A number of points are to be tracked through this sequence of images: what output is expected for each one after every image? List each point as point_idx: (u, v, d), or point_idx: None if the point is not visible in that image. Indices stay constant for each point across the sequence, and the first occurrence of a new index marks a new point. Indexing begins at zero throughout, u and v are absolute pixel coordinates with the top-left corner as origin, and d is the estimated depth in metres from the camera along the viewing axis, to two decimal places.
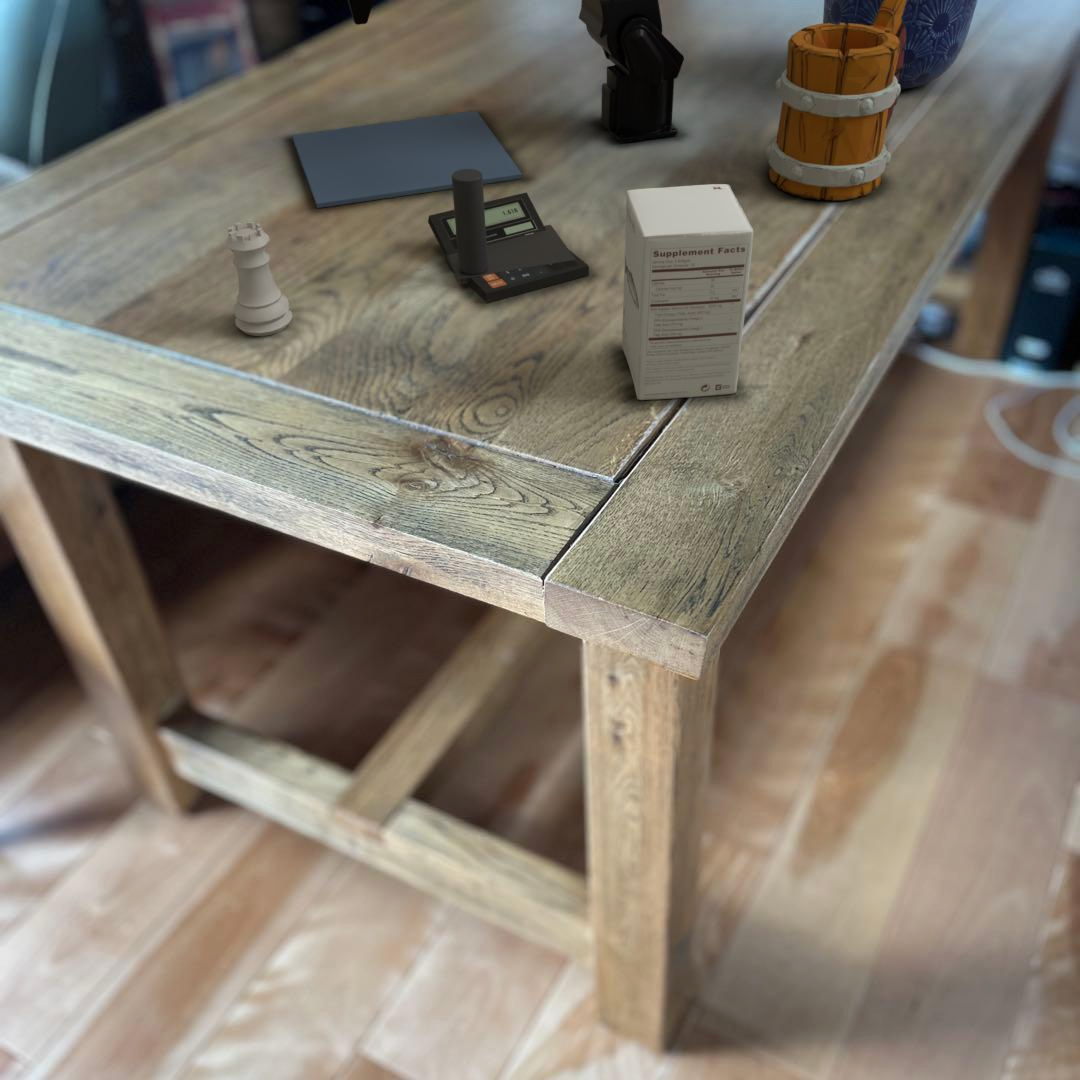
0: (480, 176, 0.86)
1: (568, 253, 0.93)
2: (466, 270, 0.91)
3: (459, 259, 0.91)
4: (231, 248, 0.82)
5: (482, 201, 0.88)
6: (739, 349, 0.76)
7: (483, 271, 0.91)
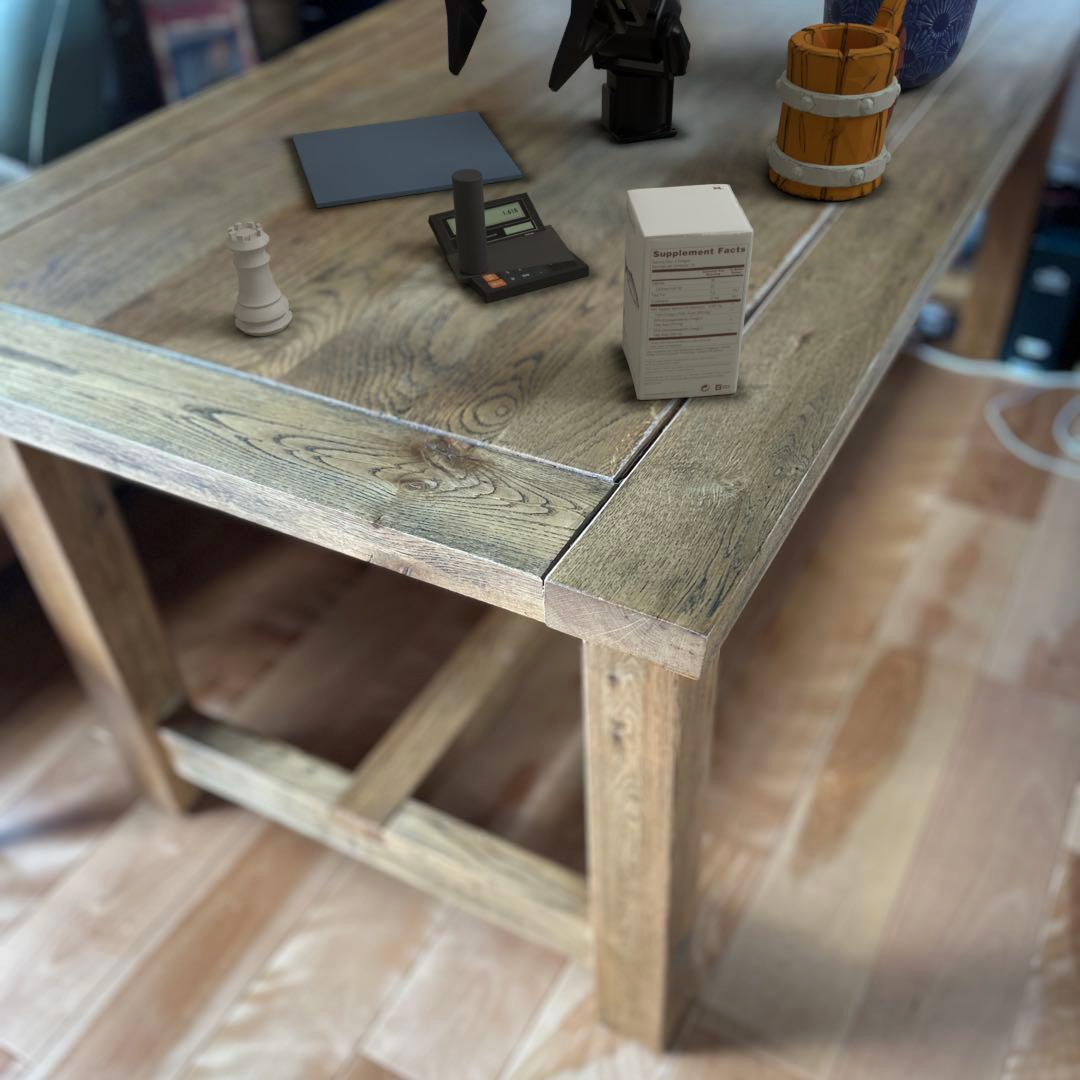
0: (480, 176, 0.86)
1: (568, 253, 0.93)
2: (466, 270, 0.91)
3: (459, 259, 0.91)
4: (231, 248, 0.82)
5: (482, 201, 0.88)
6: (739, 349, 0.76)
7: (483, 271, 0.91)
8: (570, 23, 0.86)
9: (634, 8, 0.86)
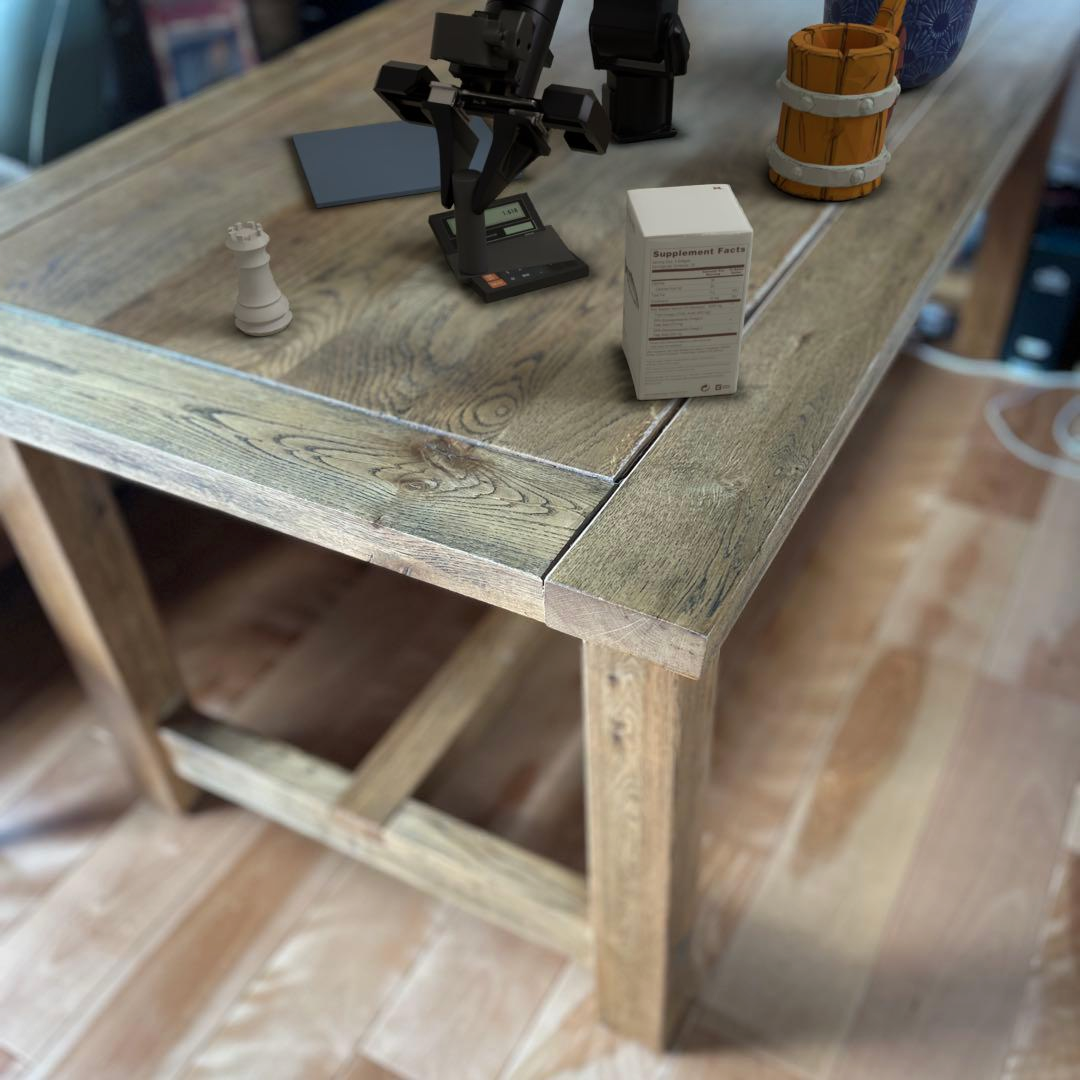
0: None
1: (568, 253, 0.93)
2: (466, 270, 0.91)
3: (459, 259, 0.91)
4: (231, 248, 0.82)
5: None
6: (739, 349, 0.76)
7: (483, 271, 0.91)
8: (493, 148, 0.85)
9: (595, 140, 0.84)
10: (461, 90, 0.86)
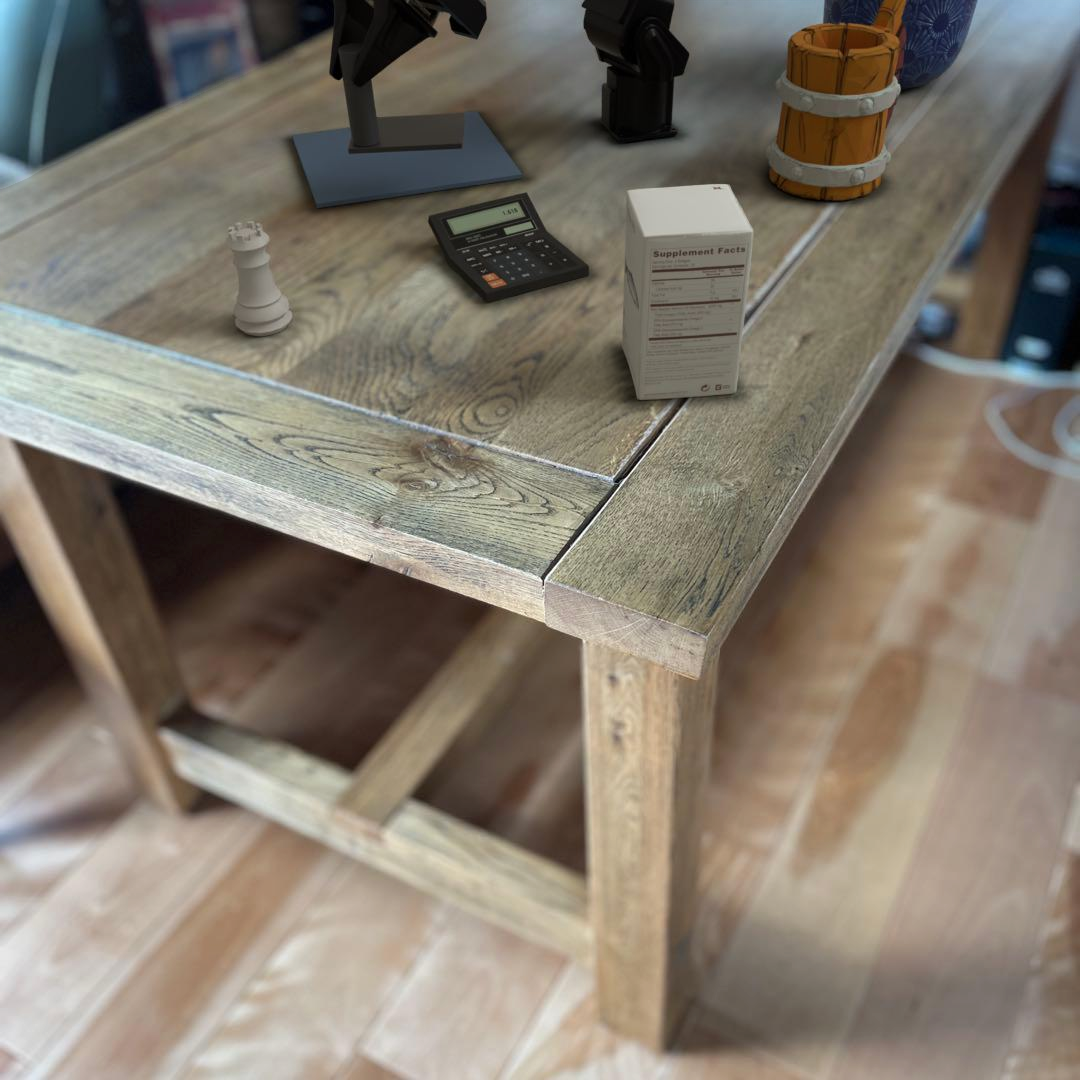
0: None
1: (458, 137, 0.98)
2: (355, 142, 0.97)
3: None
4: (231, 248, 0.82)
5: None
6: (739, 349, 0.76)
7: (371, 145, 0.97)
8: (373, 23, 0.91)
9: (461, 21, 0.88)
10: None
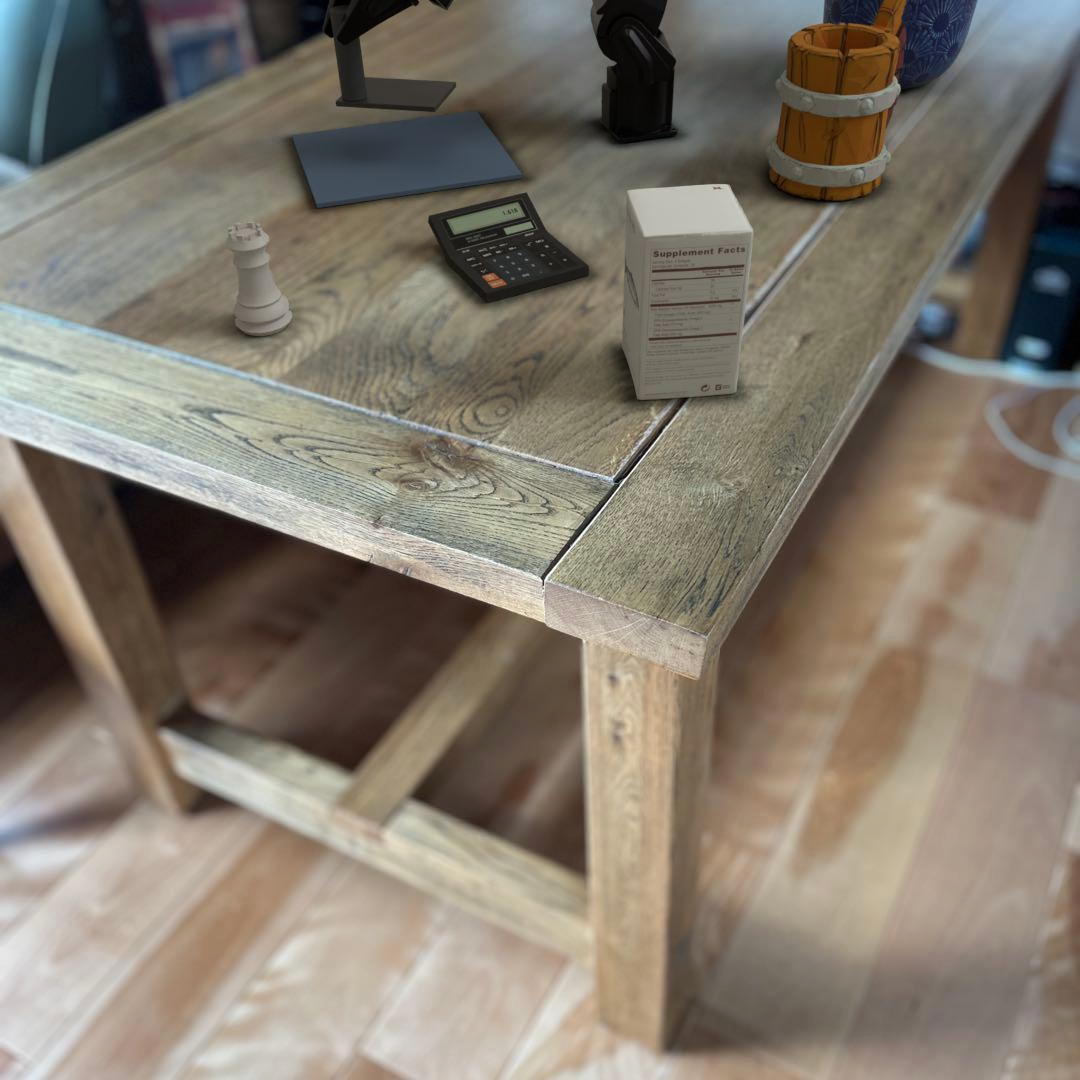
0: None
1: (435, 102, 1.05)
2: (343, 96, 1.06)
3: None
4: (231, 248, 0.82)
5: None
6: (739, 349, 0.76)
7: (356, 100, 1.06)
8: None
9: None
10: None
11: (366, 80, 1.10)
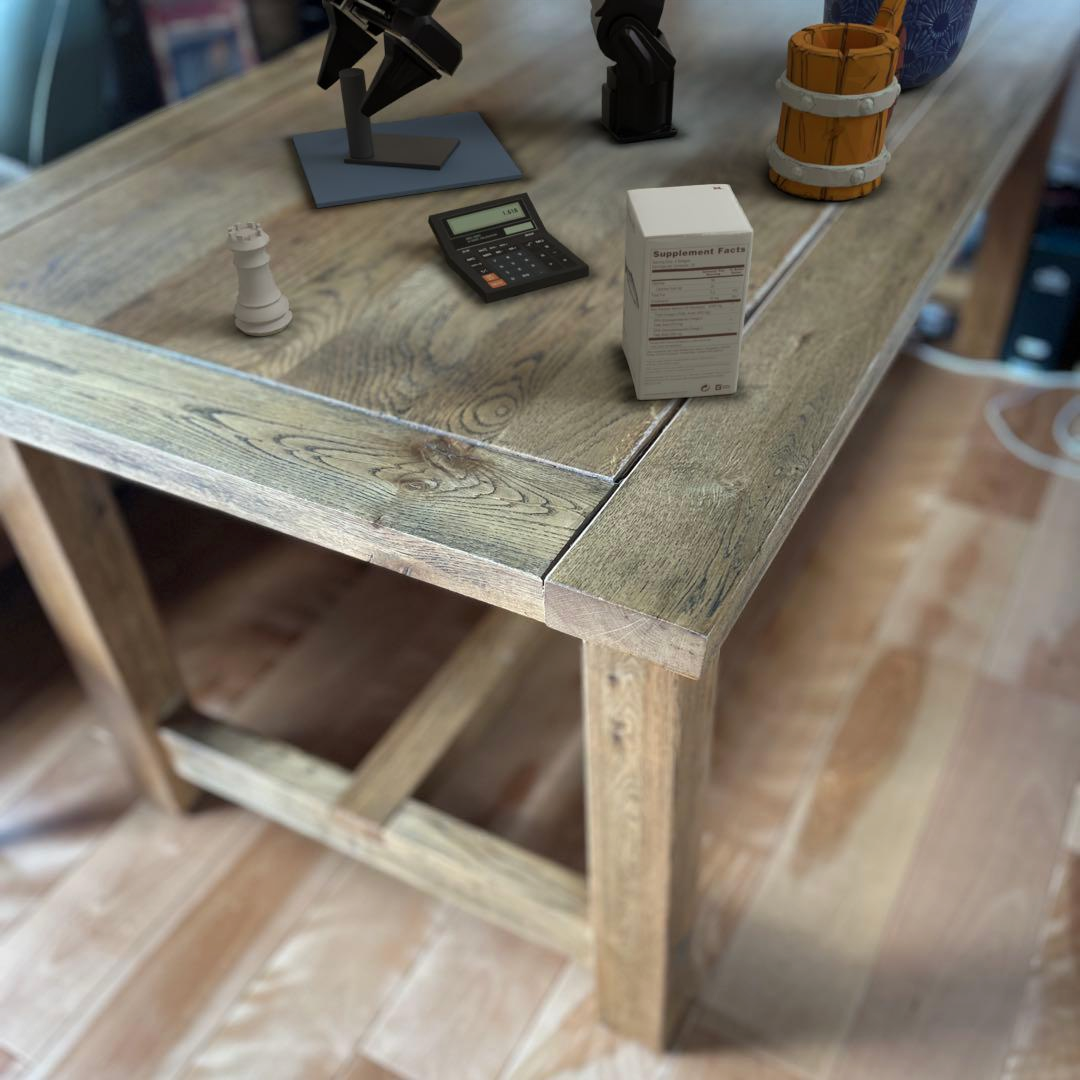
0: (358, 74, 1.05)
1: (440, 160, 1.09)
2: (351, 153, 1.10)
3: (349, 143, 1.10)
4: (231, 248, 0.82)
5: (360, 96, 1.06)
6: (739, 349, 0.76)
7: (364, 157, 1.09)
8: (382, 62, 1.01)
9: (433, 59, 0.99)
10: (367, 3, 1.05)
11: (373, 136, 1.14)
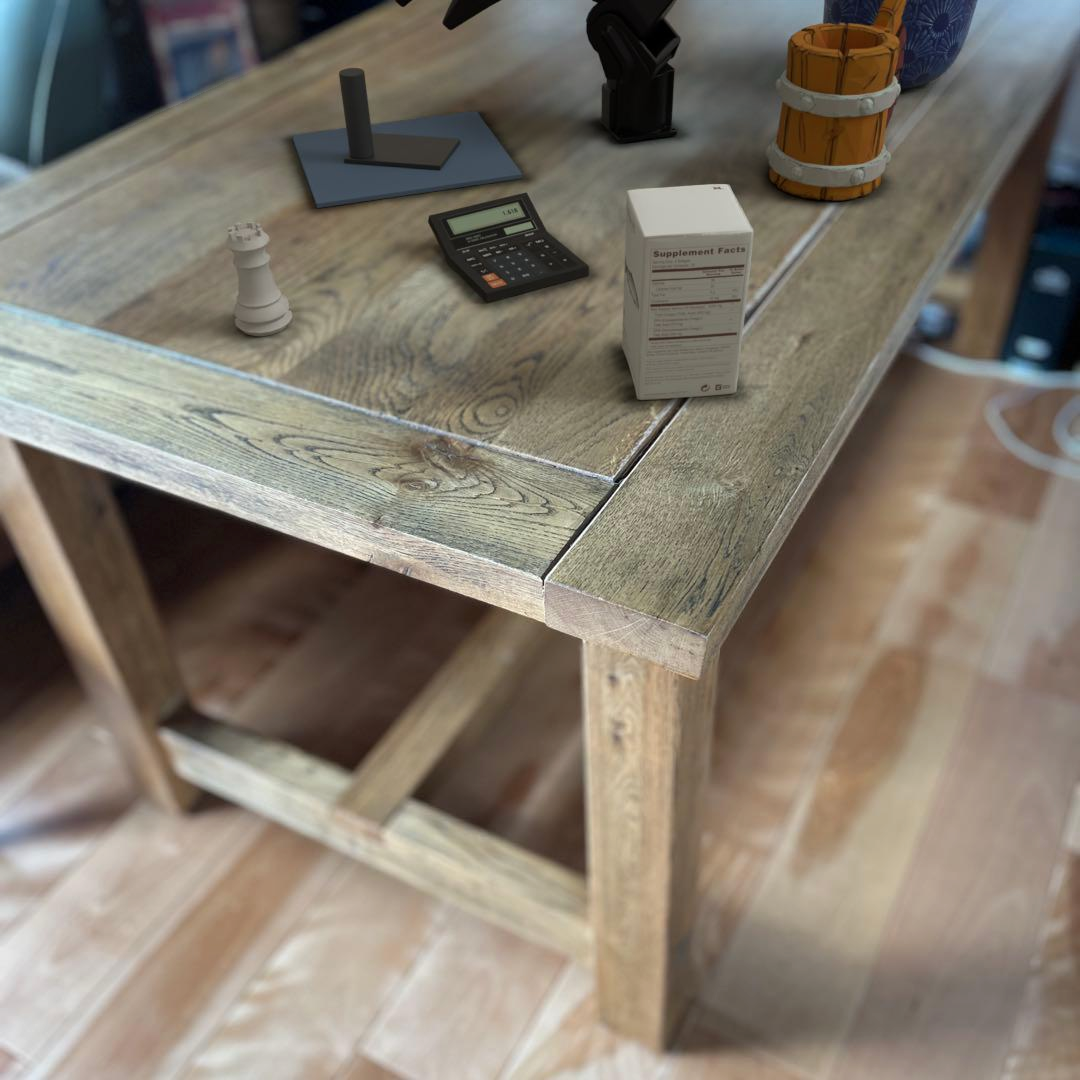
0: (358, 74, 1.05)
1: (440, 160, 1.09)
2: (351, 153, 1.10)
3: (349, 143, 1.10)
4: (231, 248, 0.82)
5: (360, 96, 1.06)
6: (739, 349, 0.76)
7: (364, 157, 1.09)
8: None
9: None
10: None
11: (373, 136, 1.14)
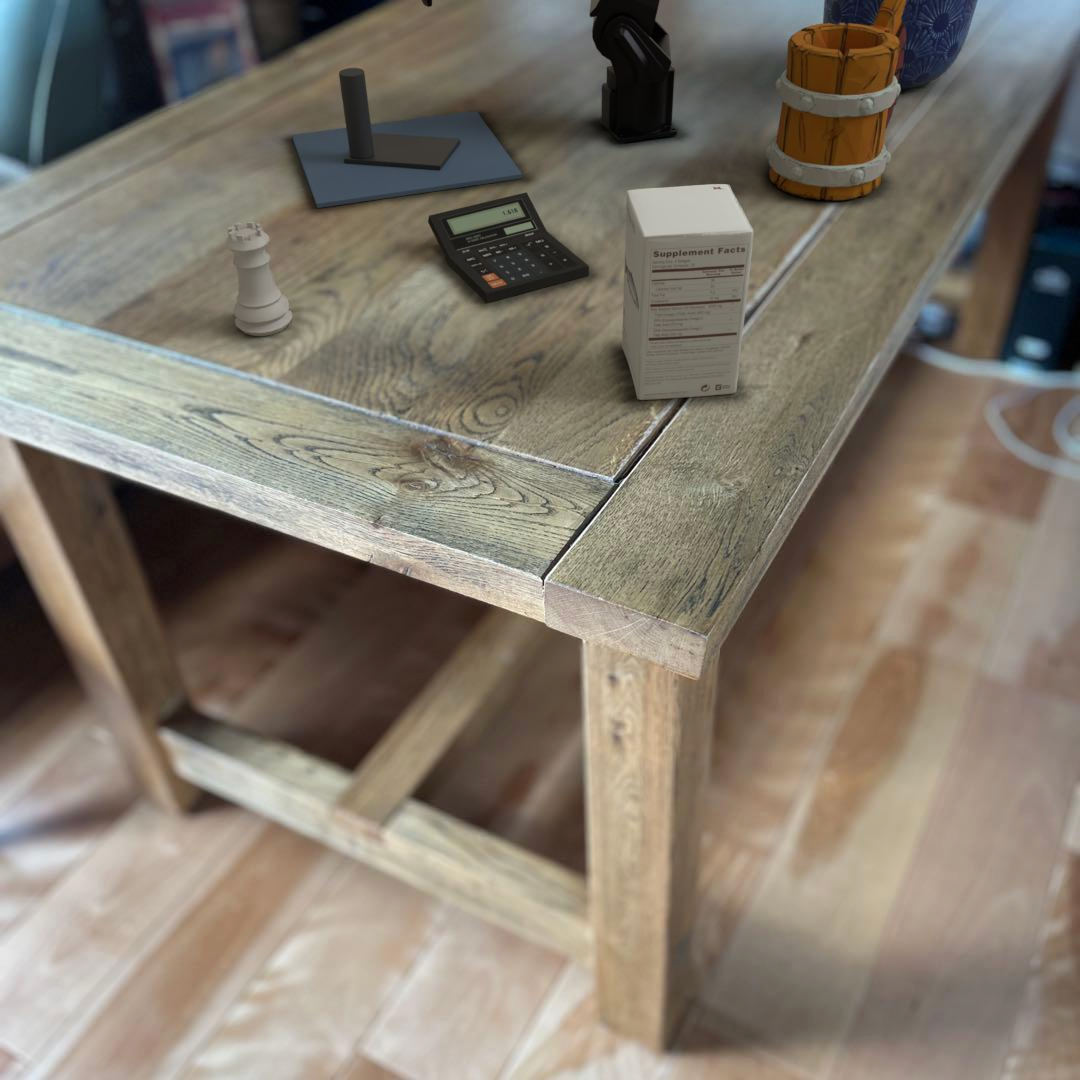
0: (358, 74, 1.05)
1: (440, 160, 1.09)
2: (351, 153, 1.10)
3: (349, 143, 1.10)
4: (231, 248, 0.82)
5: (360, 96, 1.06)
6: (739, 349, 0.76)
7: (364, 157, 1.09)
8: None
9: None
10: None
11: (373, 136, 1.14)
